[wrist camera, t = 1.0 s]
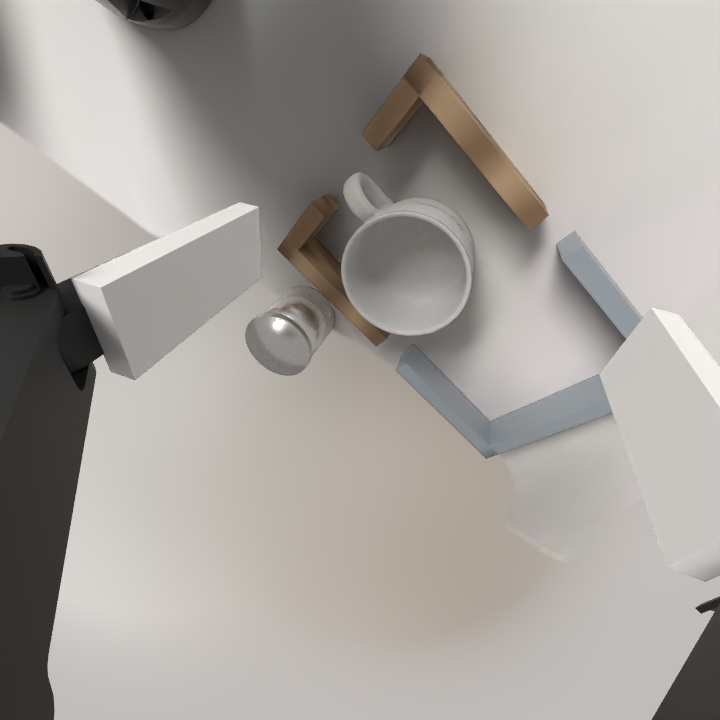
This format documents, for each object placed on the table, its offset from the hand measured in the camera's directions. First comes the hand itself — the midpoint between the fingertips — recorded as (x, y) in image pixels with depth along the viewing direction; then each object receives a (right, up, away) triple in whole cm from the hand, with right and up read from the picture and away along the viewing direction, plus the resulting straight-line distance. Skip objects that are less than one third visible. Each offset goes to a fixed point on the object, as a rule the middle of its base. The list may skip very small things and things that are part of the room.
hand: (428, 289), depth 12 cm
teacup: (+3, +10, +22) cm, 24 cm away
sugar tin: (-9, +3, +31) cm, 32 cm away
